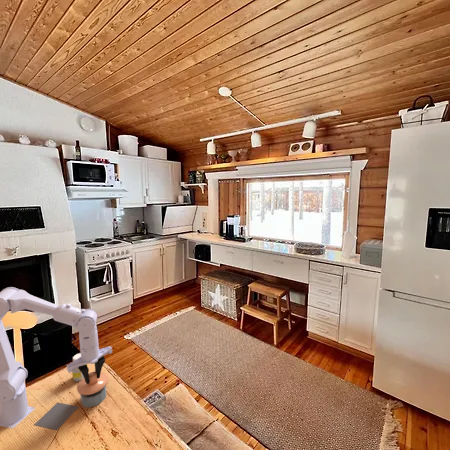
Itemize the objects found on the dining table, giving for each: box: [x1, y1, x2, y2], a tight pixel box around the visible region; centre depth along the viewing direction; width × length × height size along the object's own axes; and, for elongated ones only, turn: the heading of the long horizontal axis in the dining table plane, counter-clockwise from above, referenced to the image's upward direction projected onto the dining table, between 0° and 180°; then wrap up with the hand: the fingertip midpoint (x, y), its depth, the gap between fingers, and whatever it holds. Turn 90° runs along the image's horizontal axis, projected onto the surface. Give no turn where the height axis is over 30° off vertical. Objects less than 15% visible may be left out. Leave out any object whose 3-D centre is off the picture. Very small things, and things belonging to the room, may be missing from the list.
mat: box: [33, 402, 79, 431], centre depth 86 cm, size 9×9×1 cm
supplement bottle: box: [71, 352, 88, 383], centre depth 103 cm, size 5×5×10 cm
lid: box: [76, 371, 109, 396], centre depth 92 cm, size 10×10×4 cm
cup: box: [79, 385, 107, 408], centre depth 93 cm, size 8×8×4 cm
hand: (92, 379), depth 92 cm, fingers closed on lid, 3 cm apart
